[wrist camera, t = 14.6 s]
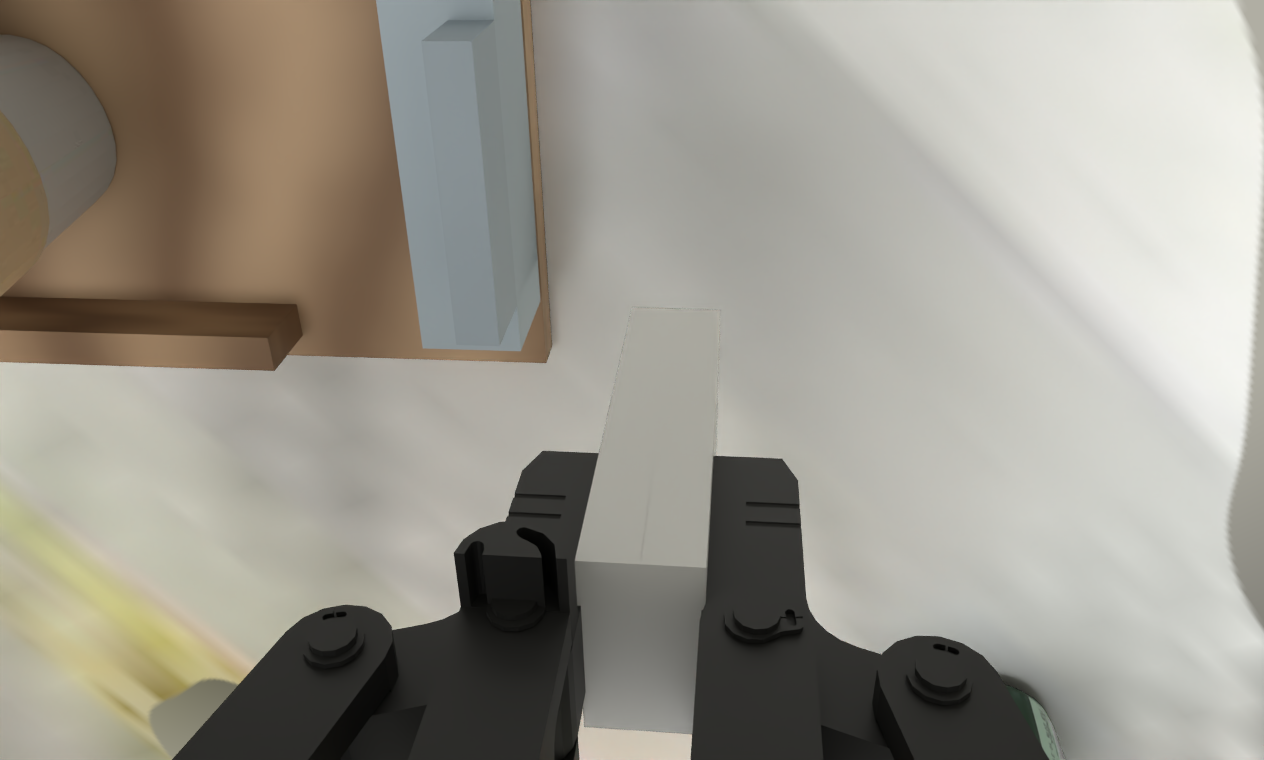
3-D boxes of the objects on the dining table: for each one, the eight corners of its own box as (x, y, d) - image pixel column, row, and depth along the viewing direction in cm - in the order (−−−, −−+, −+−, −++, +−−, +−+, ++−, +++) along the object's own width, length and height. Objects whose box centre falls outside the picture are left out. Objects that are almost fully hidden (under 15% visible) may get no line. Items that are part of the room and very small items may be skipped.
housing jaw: (450, 298, 34) (399, 390, 29) (409, -61, 28) (335, -28, 23) (540, 300, 34) (504, 394, 28) (516, -62, 28) (465, -28, 23)
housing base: (-83, 327, 38) (-158, 377, 35) (-280, -154, 30) (-401, -148, 27) (551, 346, 36) (533, 400, 33) (519, -166, 28) (491, -161, 25)
